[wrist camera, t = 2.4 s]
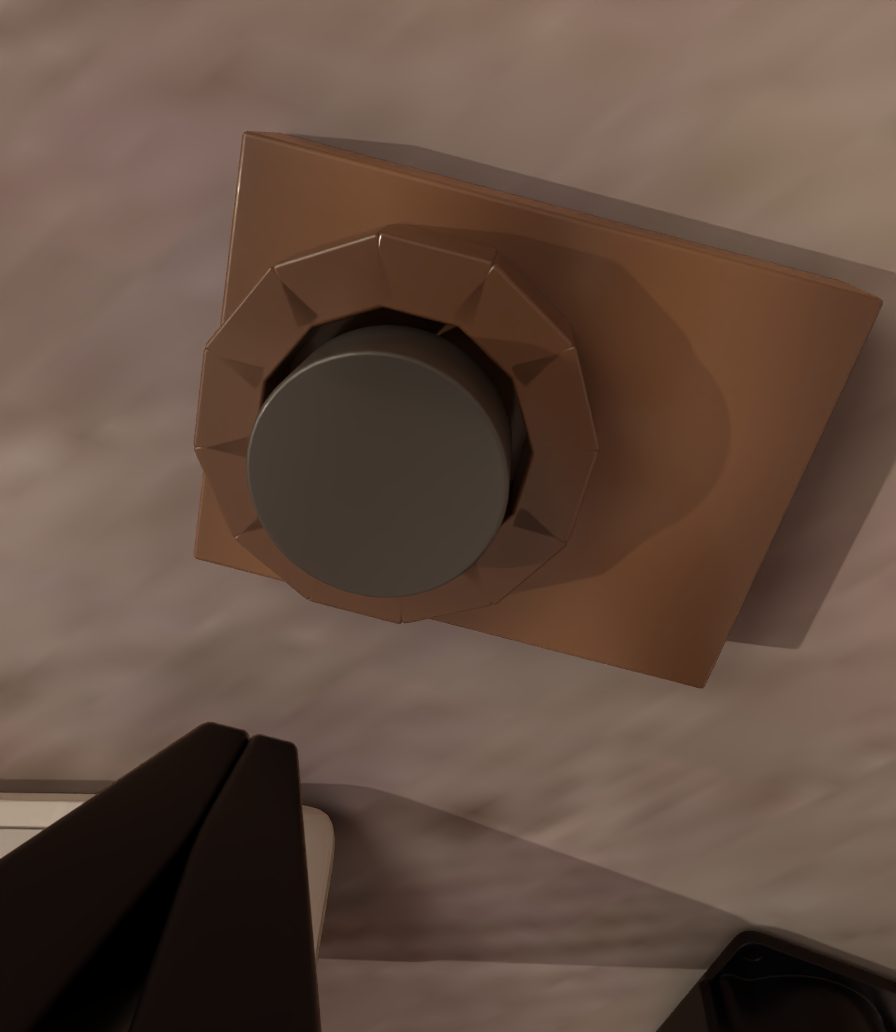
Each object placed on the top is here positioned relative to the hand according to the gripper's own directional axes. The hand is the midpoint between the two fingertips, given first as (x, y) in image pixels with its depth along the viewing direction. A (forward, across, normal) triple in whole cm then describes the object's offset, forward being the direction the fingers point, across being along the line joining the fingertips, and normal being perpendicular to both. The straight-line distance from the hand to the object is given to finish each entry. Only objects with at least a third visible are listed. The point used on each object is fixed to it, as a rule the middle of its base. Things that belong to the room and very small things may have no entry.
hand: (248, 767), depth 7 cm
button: (+9, 0, 0) cm, 9 cm away
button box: (+12, -2, 0) cm, 12 cm away
